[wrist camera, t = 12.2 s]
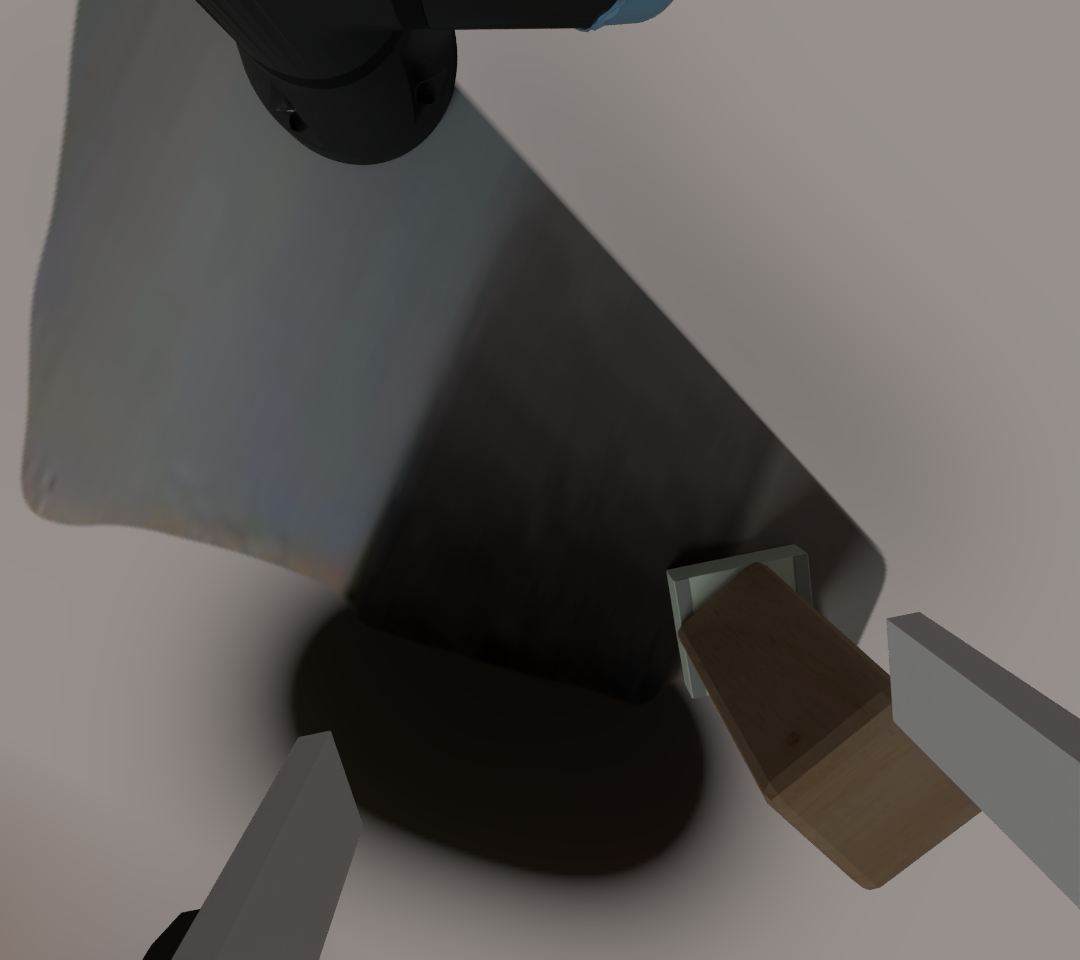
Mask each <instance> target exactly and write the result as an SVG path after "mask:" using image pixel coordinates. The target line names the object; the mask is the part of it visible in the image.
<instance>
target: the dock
mask: <svg viewBox="0 0 1080 960" xmlns="http://www.w3.org/2000/svg"><path fill="white" fill-rule="evenodd" d="M754 562H759V563H762V564H764V565H767V566H768V567H769V568H770V569H771V570H772V571H773V572H775V573H776V574H777V575H778V576H779V577H780V578H781V579H782V580H783V581H785V582H786V583H787V584H788V585H789V586H790V587H791V588H792V589H794V590H795V591H796V592H797V593H798V594H799V595H800V596H801V597H803V598H804V599H805V600H806V601H807V602H808V603H809V604H810V605H811V606H813V601H812V591H811V581H810V571H809V561H808V553H806V552H805V551H803V550H802V549H801V548H799V547H798V546H797V545H795V544H791V545H786V546H781V547H777V548H772V549H767V550H762V551H757V552H752V553H747V554H742V555H738V556H733V557H728V558H723V559H718V560H713V561H708V562H703V563H698V564H694V565H689V566H684V567H679V568H674V569H669V570H666V572H667V578H668V584H669V590H670V596H671V602H672V608H673V614H674V621H675V627H676V633H677V639H678V645H679V651H680V657H681V663H682V669H683V675H684V682H685V684H686V686H687V688H688V691H689V693H690V695H691V697H692V698H694V699H695V698H700V697H705V696H706V695H709V694H708V692H707V690H706V688H705V686H704V684H703V683H702V681H701V679H700V677H699V675H698V673H697V671H696V670H695V668H694V666H693V664H692V662H691V660H690V658H689V657H688V655H687V653H686V651H685V649H684V647H683V645H682V644H681V642H680V639H679V637H678V630H679V629H680V627H681V625H682V624H684V623H685V622H686V621H687V620H688V619H689V618H690V617H691V616H693V615H694V614H695V613H696V612H697V611H698V610H699V609H700V608H701V607H703V606H704V605H705V604H706V603H707V602H708V601H709V600H710V599H712V598H713V597H714V596H715V595H716V594H717V593H718V592H719V591H720V590H722V589H723V588H724V587H725V586H726V585H727V584H728V583H729V582H731V581H732V580H733V579H734V578H735V577H736V576H737V575H738V574H739V573H741V572H742V571H743V570H744V569H745V568H746V567H747V566H748V565H750V564H752V563H754Z"/></svg>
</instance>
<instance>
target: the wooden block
mask: <svg viewBox="0 0 1080 960" xmlns="http://www.w3.org/2000/svg"><path fill="white" fill-rule="evenodd" d="M678 637H679V639H680V642H681V644H682V645H683V647H684V649H685V651H686V653H687V655H688V657H689V658H690V660H691V662H692V664H693V666H694V668H695V670H696V671H697V673H698V675H699V677H700V679H701V681H702V683H703V684H704V686H705V688H706V690H707V692H708V694H709V696H710V697H711V699H712V701H713V703H714V705H715V707H716V709H717V710H718V712H719V714H720V716H721V718H722V720H723V722H724V723H725V725H726V727H727V729H728V731H729V733H730V735H731V736H732V738H733V740H734V742H735V744H736V746H737V748H738V749H739V751H740V753H741V755H742V757H743V759H744V761H745V763H746V764H747V766H748V768H749V770H750V772H751V774H752V775H753V777H754V779H755V781H756V783H757V785H758V787H759V789H760V790H761V792H762V794H763V796H764V798H765V800H766V802H767V803H768V804H769V805H770V806H771V807H772V808H773V809H774V810H775V811H777V812H778V813H779V814H780V815H781V816H782V817H783V818H784V819H786V820H787V821H788V822H789V823H790V824H791V825H792V826H793V827H794V828H796V829H797V830H798V831H799V832H800V833H801V834H802V835H803V836H804V837H806V838H807V839H808V840H809V841H810V842H811V843H812V844H813V845H814V846H816V847H817V848H818V849H819V850H820V851H821V852H822V853H823V854H825V855H826V856H827V857H828V858H829V859H830V860H831V861H832V862H833V863H835V864H836V865H837V866H838V867H839V868H840V869H841V870H842V871H843V872H845V873H846V874H847V875H848V876H849V877H850V878H851V879H852V880H854V881H855V882H856V883H858V884H859V885H860V886H862V887H863V888H865V889H869V890H871V889H876V888H880V887H881V886H883V885H884V884H885V883H887V882H888V881H889V880H891V879H892V878H893V877H895V876H896V875H897V874H899V873H900V872H901V871H903V870H904V869H905V868H907V867H908V866H909V865H911V864H912V863H913V862H915V861H916V860H917V859H919V858H920V857H921V856H922V855H924V854H925V853H926V852H928V851H929V850H931V849H932V848H933V847H935V846H936V845H937V844H939V843H940V842H941V841H942V840H944V839H945V838H947V837H948V836H949V835H950V834H952V833H953V832H955V831H956V830H957V829H958V828H960V827H961V826H963V825H964V824H965V823H966V822H968V821H969V820H971V819H972V818H973V817H974V816H976V815H977V814H978V813H980V812H981V811H982V810H981V809H980V808H979V807H978V806H977V805H976V804H975V803H974V802H973V801H972V800H971V799H970V798H969V797H968V796H967V795H966V794H965V793H964V792H963V791H962V790H961V789H960V788H959V787H958V786H957V785H956V784H955V783H954V782H953V781H952V780H951V779H950V778H949V777H948V776H947V775H946V774H945V773H944V772H943V771H942V770H941V769H940V768H939V767H938V766H937V765H936V764H935V763H934V762H933V761H932V760H931V759H930V758H929V757H928V756H927V755H926V754H925V753H924V752H923V751H922V749H921V748H920V747H919V746H918V745H917V744H916V743H915V742H914V741H913V740H912V739H911V738H910V737H909V736H908V735H907V734H906V733H905V732H904V731H903V730H902V729H901V728H900V727H899V726H898V725H897V724H896V723H895V722H894V721H893V711H892V696H891V681H890V675H889V674H887V673H886V672H885V671H884V670H883V669H882V668H881V667H880V666H879V665H877V664H876V663H875V662H874V661H873V660H872V659H871V658H870V657H869V656H867V655H866V654H865V653H864V652H863V651H862V650H861V649H859V648H858V647H857V646H856V645H855V644H854V643H853V642H852V641H851V640H850V639H848V638H847V637H846V636H845V635H844V634H843V633H842V632H841V631H839V630H838V629H837V628H836V627H835V626H834V625H833V624H832V623H830V622H829V621H828V620H827V619H826V618H825V617H824V616H823V615H822V614H820V613H819V612H818V611H817V610H816V609H815V608H814V607H813V606H811V605H810V604H809V603H808V602H807V601H806V600H805V599H804V598H803V597H801V596H800V595H799V594H798V593H797V592H796V591H795V590H794V589H792V588H791V587H790V586H789V585H788V584H787V583H786V582H785V581H783V580H782V579H781V578H780V577H779V576H778V575H777V574H776V573H775V572H773V571H772V570H771V569H770V568H769V567H768V566H767V565H764V564H762V563H759V562H754V563H752V564H750V565H748V566H747V567H746V568H745V569H744V570H743V571H742V572H741V573H739V574H738V575H737V576H736V577H735V578H734V579H733V580H732V581H731V582H729V583H728V584H727V585H726V586H725V587H724V588H723V589H722V590H720V591H719V592H718V593H717V594H716V595H715V596H714V597H713V598H712V599H710V600H709V601H708V602H707V603H706V604H705V605H704V606H703V607H701V608H700V609H699V610H698V611H697V612H696V613H695V614H694V615H693V616H691V617H690V618H689V619H688V620H687V621H686V622H685V623H684V624H682V625H681V627H680V629H679V630H678Z"/></svg>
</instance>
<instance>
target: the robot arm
mask: <svg viewBox="0 0 1080 960" xmlns="http://www.w3.org/2000/svg"><path fill="white" fill-rule="evenodd" d="M195 1H196V2H197V3H198V4H199V5H200V6H201V7H202V8H203V9H204V10H205V11H206V12H207V13H208V14H209V15H210V16H211V17H212V18H213V19H214V20H215V21H216V22H217V23H218V24H219V25H220V26H221V27H222V28H223V29H224V30H225V31H226V32H227V33H228V34H229V35H230V36H231V37H232V38H233V39H234V40H235V41H236V44H237V47H238V50H239V53H240V56H241V59H242V63H243V66H244V69H245V71H246V74H247V76H248V78H249V80H250V83H251V85H252V86H253V88H254V90H255V92H256V94H257V95H258V97H259V98H260V100H261V101H262V103H263V105H264V106H265V107H266V109H267V110H268V111H269V112H270V114H271V115H272V116H273V117H274V118H275V119H276V120H277V122H278V123H279V124H280V125H281V126H283V127H284V128H285V129H286V130H287V131H288V132H289V133H290V134H291V135H292V136H293V137H294V138H296V139H297V140H298V141H299V142H301V143H302V144H303V145H305V146H306V147H308V148H309V149H311V150H312V151H314V152H316V153H318V154H320V155H322V156H324V157H326V158H329V159H332V160H335V161H338V162H342V163H347V164H356V165H370V164H378V163H383V162H387V161H390V160H393V159H396V158H398V157H400V156H402V155H404V154H406V153H408V152H409V151H411V150H412V149H414V148H415V147H417V146H418V145H419V144H420V143H422V142H423V141H424V140H425V139H426V138H427V137H428V136H429V135H430V133H431V132H432V131H433V130H434V128H435V127H436V126H437V124H438V123H439V121H440V120H441V118H442V116H443V114H444V113H445V111H446V108H447V106H448V104H449V101H450V99H451V95H452V92H453V88H454V84H455V79H456V72H457V44H456V36H455V30H460V29H461V30H462V29H463V30H467V29H468V30H470V29H553V28H554V29H556V28H557V29H559V28H575V29H577V30H579V31H583V32H589V31H590V30H597V29H599V28H601V27H603V26H605V25H616V24H629V23H640V22H644V21H646V20H649V19H651V18H653V17H655V16H656V15H658V14H660V13H661V12H662V11H664V10H665V9H666V8H667V7H668V6H669V5H670V3H671V2H672V1H673V0H195ZM887 634H888V650H889V665H890V681H891V696H892V711H893V721H894V722H895V723H896V724H897V725H898V726H899V727H900V728H901V729H902V730H903V731H904V732H905V733H906V734H907V735H908V736H909V737H910V738H911V739H912V740H913V741H914V742H915V743H916V744H917V745H918V746H919V747H920V748H921V749H922V751H923V752H924V753H925V754H926V755H927V756H928V757H929V758H930V759H931V760H932V761H933V762H934V763H935V764H936V765H937V766H938V767H939V768H940V769H941V770H942V771H943V772H944V773H945V774H946V775H947V776H948V777H949V778H950V779H951V780H952V781H953V782H954V783H955V784H956V785H957V786H958V787H959V788H960V789H961V790H962V791H963V792H964V793H965V794H966V795H967V796H968V797H969V798H970V799H971V800H972V801H973V802H974V803H975V804H976V805H977V806H978V807H979V808H980V809H981V810H982V811H983V812H984V813H985V814H986V815H987V816H988V817H989V818H990V819H991V820H992V821H993V822H994V823H995V824H996V825H997V826H998V827H999V828H1000V829H1001V830H1002V831H1003V832H1004V833H1005V834H1006V835H1007V836H1008V837H1009V838H1010V839H1011V840H1012V841H1013V842H1014V843H1015V844H1016V845H1017V846H1018V847H1019V848H1020V849H1021V850H1022V851H1023V852H1024V853H1025V854H1026V855H1027V856H1028V857H1029V858H1030V859H1031V860H1032V861H1033V862H1034V863H1035V864H1036V865H1037V866H1038V867H1039V868H1040V869H1041V870H1042V871H1043V872H1044V873H1045V874H1046V875H1047V876H1048V877H1049V878H1050V879H1051V880H1052V881H1053V882H1054V883H1055V884H1056V885H1057V887H1058V888H1059V889H1060V890H1062V891H1063V893H1065V895H1067V897H1069V898H1070V900H1071V901H1072V902H1073V903H1074V904H1075V905H1076V906H1077V907H1078V908H1079V909H1080V719H1079V718H1078V717H1076V716H1075V715H1073V714H1071V713H1070V712H1069V711H1067V710H1066V709H1064V708H1063V707H1061V706H1060V705H1058V704H1057V703H1055V702H1054V701H1052V700H1051V699H1049V698H1048V697H1046V696H1045V695H1043V694H1042V693H1040V692H1039V691H1037V690H1036V689H1034V688H1033V687H1031V686H1030V685H1028V684H1027V683H1025V682H1024V681H1022V680H1021V679H1019V678H1018V677H1016V676H1015V675H1013V674H1012V673H1010V672H1009V671H1007V670H1005V669H1004V668H1003V667H1001V666H1000V665H998V664H997V663H995V662H994V661H992V660H991V659H989V658H988V657H986V656H985V655H983V654H982V653H980V652H979V651H977V650H975V649H974V648H973V647H971V646H970V645H968V644H967V643H965V642H964V641H962V640H961V639H959V638H958V637H956V636H955V635H953V634H952V633H950V632H949V631H947V630H946V629H944V628H943V627H941V626H940V625H938V624H937V623H935V622H934V621H932V620H931V619H929V618H928V617H926V616H925V615H923V614H922V613H920V612H918V613H913V614H907V615H903V616H897V617H892V618H887ZM362 828H363V825H362V822H361V819H360V816H359V813H358V810H357V807H356V804H355V801H354V799H353V796H352V792H351V790H350V787H349V784H348V781H347V778H346V775H345V772H344V769H343V766H342V763H341V761H340V757H339V754H338V752H337V749H336V746H335V743H334V740H333V737H332V734H331V732H330V731H328V732H323V733H318V734H313V735H308V736H303V737H299V738H298V739H297V741H296V743H295V745H294V747H293V748H292V750H291V752H290V754H289V755H288V757H287V759H286V760H285V762H284V764H283V766H282V767H281V769H280V771H279V773H278V775H277V776H276V778H275V780H274V781H273V783H272V785H271V787H270V788H269V790H268V792H267V794H266V796H265V797H264V799H263V801H262V803H261V804H260V806H259V808H258V809H257V811H256V813H255V815H254V816H253V818H252V820H251V822H250V823H249V825H248V827H247V829H246V830H245V832H244V834H243V836H242V837H241V839H240V841H239V843H238V844H237V846H236V848H235V850H234V851H233V853H232V855H231V857H230V858H229V860H228V862H227V864H226V866H225V867H224V869H223V871H222V872H221V874H220V876H219V878H218V879H217V881H216V883H215V885H214V886H213V888H212V890H211V892H210V894H209V895H208V897H207V899H206V900H205V902H204V904H203V906H202V907H201V909H198V910H193V911H188V912H183V913H181V914H180V915H179V916H178V917H177V918H176V919H175V920H174V921H173V922H172V923H171V925H169V927H168V928H167V929H166V930H165V931H164V932H163V933H162V934H161V935H160V936H159V937H158V938H157V940H156V941H155V942H154V943H153V944H152V945H151V947H150V948H149V950H148V951H147V953H146V955H145V956H144V958H143V960H319V958H320V955H321V951H322V949H323V946H324V942H325V940H326V936H327V934H328V931H329V927H330V924H331V921H332V918H333V915H334V912H335V909H336V906H337V903H338V900H339V897H340V894H341V891H342V888H343V885H344V882H345V879H346V876H347V873H348V870H349V867H350V864H351V861H352V858H353V855H354V852H355V849H356V846H357V843H358V840H359V837H360V834H361V831H362Z"/></svg>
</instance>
